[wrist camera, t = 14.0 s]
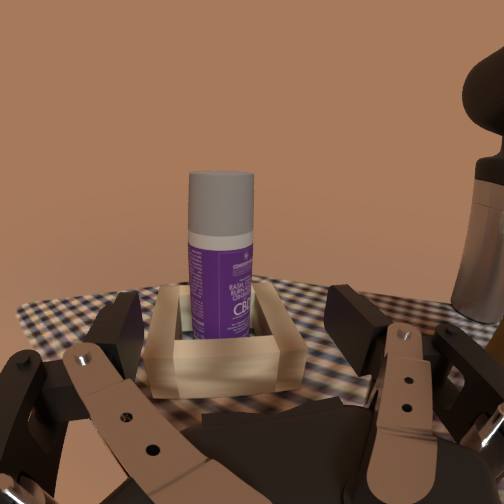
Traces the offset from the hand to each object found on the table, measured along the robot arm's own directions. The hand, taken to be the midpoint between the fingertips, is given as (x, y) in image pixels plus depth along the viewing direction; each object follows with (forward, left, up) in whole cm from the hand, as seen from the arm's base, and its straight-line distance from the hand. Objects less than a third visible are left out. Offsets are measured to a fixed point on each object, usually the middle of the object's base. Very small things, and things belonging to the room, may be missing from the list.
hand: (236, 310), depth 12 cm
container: (0, -10, -10) cm, 14 cm away
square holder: (0, -10, -10) cm, 14 cm away
